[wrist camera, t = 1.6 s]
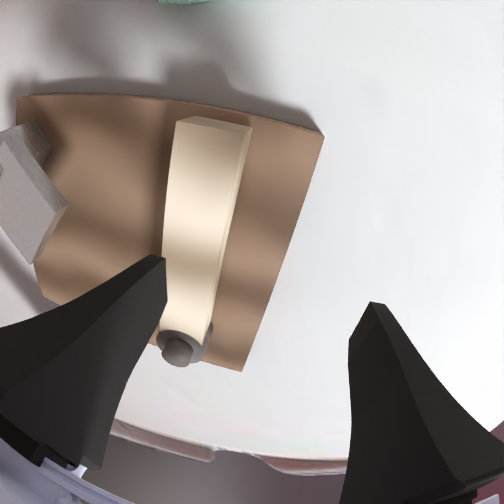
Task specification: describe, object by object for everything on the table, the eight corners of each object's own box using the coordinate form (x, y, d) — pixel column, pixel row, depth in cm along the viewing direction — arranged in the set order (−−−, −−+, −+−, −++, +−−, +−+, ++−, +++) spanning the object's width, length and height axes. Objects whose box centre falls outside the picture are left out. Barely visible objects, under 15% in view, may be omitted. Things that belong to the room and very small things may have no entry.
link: (210, 344, 22) (198, 379, 19) (167, 330, 22) (151, 363, 19) (259, 129, 13) (247, 140, 10) (190, 114, 13) (160, 122, 10)
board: (244, 359, 25) (241, 372, 24) (50, 288, 25) (42, 296, 24) (322, 133, 14) (324, 137, 13) (30, 94, 14) (17, 98, 13)
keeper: (103, 182, 16) (55, 213, 12) (68, 231, 19) (30, 264, 15) (42, 104, 13) (-9, 119, 9) (15, 161, 16) (-26, 183, 12)
